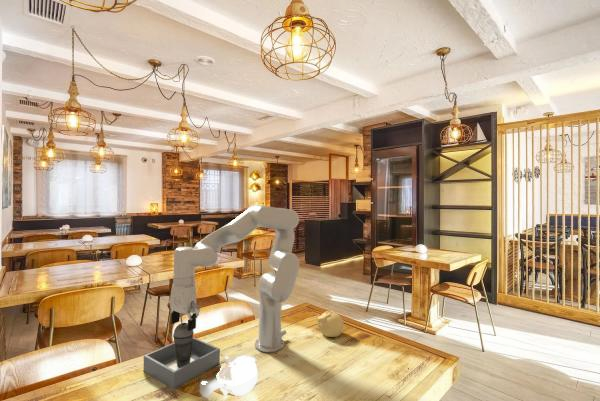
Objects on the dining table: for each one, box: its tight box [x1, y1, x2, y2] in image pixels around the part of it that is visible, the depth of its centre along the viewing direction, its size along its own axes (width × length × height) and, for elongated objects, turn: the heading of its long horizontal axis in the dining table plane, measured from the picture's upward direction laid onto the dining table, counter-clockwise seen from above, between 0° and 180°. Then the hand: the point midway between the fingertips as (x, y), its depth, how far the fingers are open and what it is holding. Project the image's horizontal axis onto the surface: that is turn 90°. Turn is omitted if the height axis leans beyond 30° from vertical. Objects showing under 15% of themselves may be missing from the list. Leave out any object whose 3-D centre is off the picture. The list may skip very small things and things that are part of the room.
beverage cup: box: [173, 313, 194, 368], centre depth 119 cm, size 7×7×20 cm
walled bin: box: [143, 336, 221, 391], centre depth 119 cm, size 20×18×6 cm
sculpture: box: [316, 310, 345, 338], centre depth 151 cm, size 12×12×11 cm
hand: (183, 325), depth 119 cm, fingers open, 9 cm apart
